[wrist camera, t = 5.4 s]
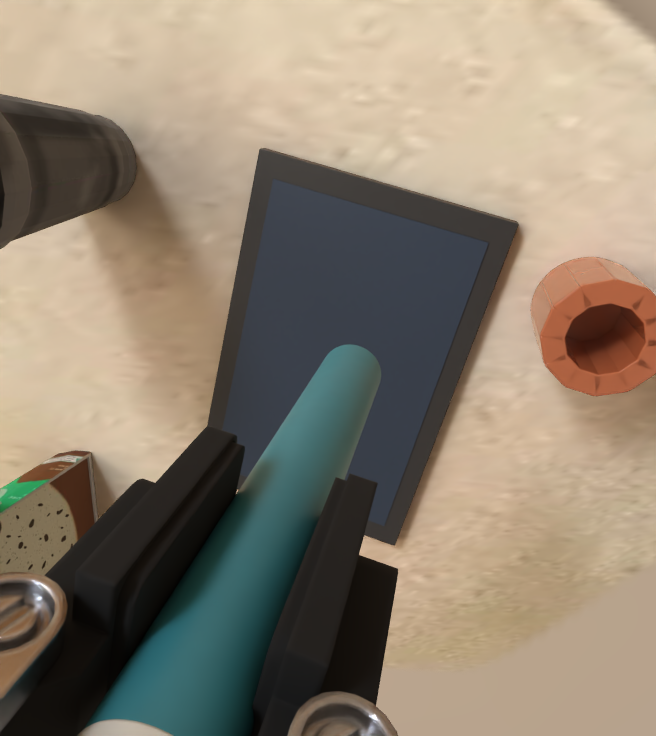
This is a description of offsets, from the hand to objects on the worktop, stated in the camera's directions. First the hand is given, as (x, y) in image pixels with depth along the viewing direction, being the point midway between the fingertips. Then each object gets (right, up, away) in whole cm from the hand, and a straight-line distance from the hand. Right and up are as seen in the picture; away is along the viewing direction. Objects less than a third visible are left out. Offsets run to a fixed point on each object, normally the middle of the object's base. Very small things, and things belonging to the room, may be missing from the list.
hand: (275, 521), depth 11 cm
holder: (+14, +6, +18) cm, 23 cm away
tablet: (+1, +3, +22) cm, 22 cm away
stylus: (+2, +3, +7) cm, 8 cm away
